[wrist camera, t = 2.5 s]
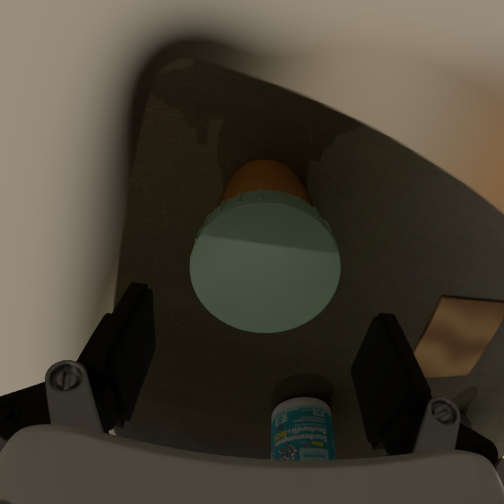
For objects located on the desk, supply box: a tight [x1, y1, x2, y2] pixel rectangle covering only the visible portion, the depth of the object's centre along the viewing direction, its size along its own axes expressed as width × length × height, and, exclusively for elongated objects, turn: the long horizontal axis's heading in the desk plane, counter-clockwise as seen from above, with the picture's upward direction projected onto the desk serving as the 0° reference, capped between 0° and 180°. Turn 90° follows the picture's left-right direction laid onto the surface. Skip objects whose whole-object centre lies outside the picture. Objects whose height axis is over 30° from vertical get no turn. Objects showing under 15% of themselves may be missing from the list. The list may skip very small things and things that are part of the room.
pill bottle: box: [271, 397, 337, 461], centre depth 30 cm, size 8×7×14 cm
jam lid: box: [190, 189, 341, 333], centre depth 15 cm, size 7×7×2 cm
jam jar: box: [216, 159, 314, 208], centre depth 20 cm, size 6×6×11 cm
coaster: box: [413, 296, 504, 378], centre depth 30 cm, size 12×12×1 cm
